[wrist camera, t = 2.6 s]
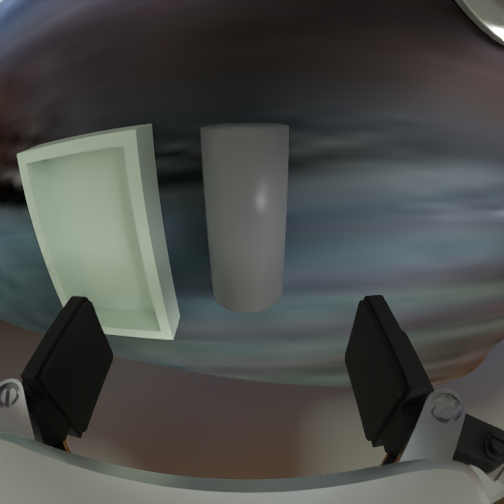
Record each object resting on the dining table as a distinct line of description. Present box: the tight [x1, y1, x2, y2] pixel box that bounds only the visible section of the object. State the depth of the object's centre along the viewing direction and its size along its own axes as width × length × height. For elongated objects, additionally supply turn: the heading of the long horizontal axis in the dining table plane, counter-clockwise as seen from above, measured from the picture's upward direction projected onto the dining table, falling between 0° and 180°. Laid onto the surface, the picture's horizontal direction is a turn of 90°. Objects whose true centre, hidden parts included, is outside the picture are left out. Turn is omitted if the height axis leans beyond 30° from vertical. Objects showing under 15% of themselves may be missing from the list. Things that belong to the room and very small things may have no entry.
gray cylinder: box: [200, 122, 289, 313], centre depth 17 cm, size 11×4×4 cm, turn 1°
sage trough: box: [17, 123, 180, 340], centre depth 18 cm, size 15×9×3 cm, turn 1°
